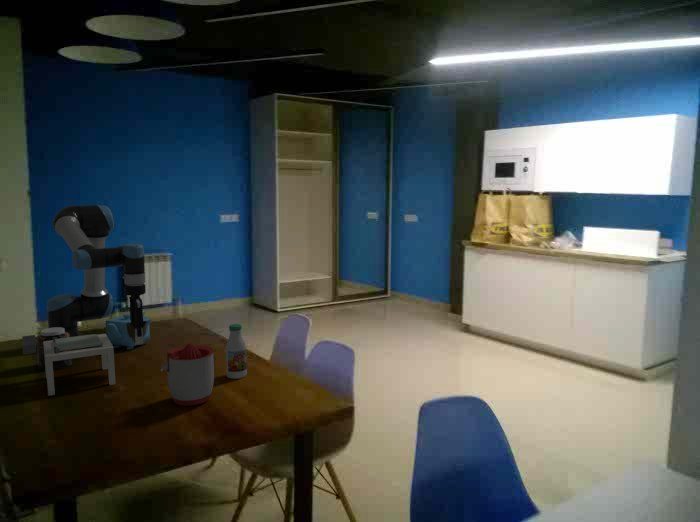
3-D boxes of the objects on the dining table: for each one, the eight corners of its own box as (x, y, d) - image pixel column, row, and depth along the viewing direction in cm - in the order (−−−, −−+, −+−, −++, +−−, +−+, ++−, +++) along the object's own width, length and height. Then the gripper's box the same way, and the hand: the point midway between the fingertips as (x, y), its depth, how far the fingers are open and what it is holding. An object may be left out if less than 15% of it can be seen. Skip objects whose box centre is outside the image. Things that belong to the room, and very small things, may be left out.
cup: (150, 339, 214) (150, 320, 212) (141, 345, 206) (141, 325, 205) (132, 338, 214) (132, 319, 213) (123, 344, 207) (122, 324, 206)
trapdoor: (23, 355, 184) (22, 346, 183) (23, 345, 196) (22, 336, 195) (100, 345, 196) (100, 336, 196) (96, 336, 208) (95, 327, 208)
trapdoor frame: (45, 377, 204) (42, 337, 202) (107, 367, 215) (105, 329, 213) (48, 395, 186) (45, 352, 184) (115, 384, 197) (113, 343, 195)
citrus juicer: (161, 395, 186) (159, 339, 184) (212, 389, 193) (211, 335, 190) (163, 413, 172) (160, 352, 169) (218, 405, 178) (216, 347, 175)
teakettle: (105, 343, 249) (103, 312, 247) (148, 338, 258) (146, 308, 256) (109, 354, 233) (107, 321, 231) (154, 348, 242) (152, 316, 240)
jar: (46, 372, 209) (43, 335, 207) (33, 366, 216) (30, 330, 214) (77, 364, 219) (74, 329, 217) (63, 359, 226) (60, 324, 224)
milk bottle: (222, 377, 205) (220, 326, 202) (235, 371, 211) (234, 321, 209) (238, 380, 201) (236, 328, 198) (251, 374, 208) (249, 324, 205)
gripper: (120, 280, 213) (123, 336, 217) (128, 289, 196) (131, 350, 200) (140, 279, 217) (142, 334, 221) (150, 287, 200) (152, 347, 204)
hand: (137, 341), depth 210 cm, fingers closed on cup, 7 cm apart
